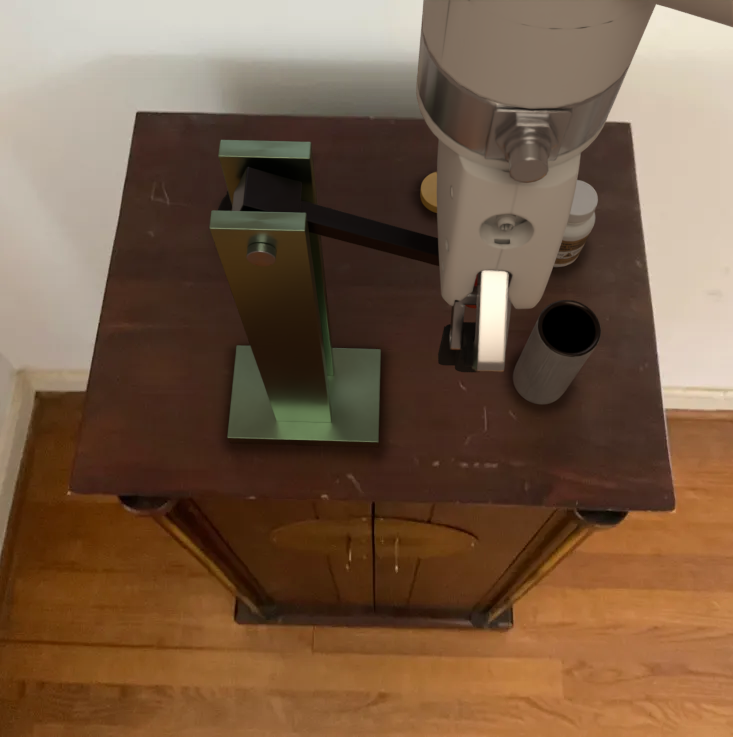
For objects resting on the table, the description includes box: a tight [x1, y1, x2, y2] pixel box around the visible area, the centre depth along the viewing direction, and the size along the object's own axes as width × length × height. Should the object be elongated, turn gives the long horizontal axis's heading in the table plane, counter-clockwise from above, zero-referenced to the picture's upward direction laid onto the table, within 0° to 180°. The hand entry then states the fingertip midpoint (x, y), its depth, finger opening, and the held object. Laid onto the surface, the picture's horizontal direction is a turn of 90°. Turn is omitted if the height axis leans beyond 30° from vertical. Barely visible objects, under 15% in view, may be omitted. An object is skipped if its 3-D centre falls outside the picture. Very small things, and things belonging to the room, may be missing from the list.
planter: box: [512, 299, 602, 405], centre depth 59 cm, size 4×4×10 cm
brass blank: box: [419, 171, 437, 214], centre depth 71 cm, size 4×4×1 cm
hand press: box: [208, 139, 382, 448], centre depth 50 cm, size 12×8×30 cm, turn 88°
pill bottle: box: [553, 179, 599, 268], centre depth 65 cm, size 4×4×8 cm
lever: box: [231, 167, 478, 310], centre depth 40 cm, size 14×5×2 cm, turn 88°
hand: (464, 283), depth 44 cm, fingers open, 9 cm apart
